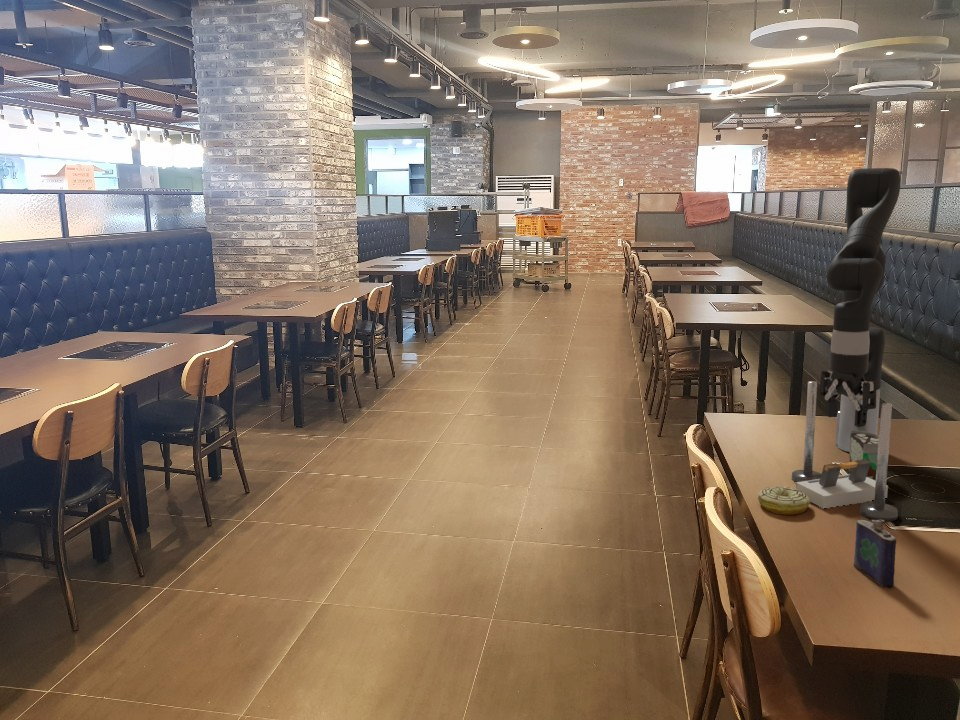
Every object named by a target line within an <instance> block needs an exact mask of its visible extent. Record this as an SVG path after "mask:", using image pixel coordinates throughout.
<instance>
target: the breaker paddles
mask: <svg viewBox="0 0 960 720" xmlns="http://www.w3.org/2000/svg"><path fill="white" fill-rule="evenodd" d="M870 464H871V462H869V461H868V460H867V459H861V460H855V461H854V462H849V461H848V462H842V463H828V464H824V465H823V468H822V471H821V478H820V481H819V484H820V485H821V486H822V487H823V488H825V487H831V486H836V483H837V479H838V476H840V472H841V470H849V468H852V469H851V472H850V471H849V474H850V475H849V480H850V481H852V482H853V483H856V482H863V481H865V480H866V476H867V473H868V470H869V467H870Z"/></svg>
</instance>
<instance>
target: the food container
mask: <svg viewBox="0 0 960 720" xmlns="http://www.w3.org/2000/svg"><path fill="white" fill-rule="evenodd" d="M849 438H850V452H849V457H848V459H849V461H848V462H854V461H855V460H861V459H867V460H868V461H869V462H871V464H870V467H869V470H868V473H867V476H866V477H868V478H870V479H873V480H875V481H876V468H877V455H878V441H879V434H877V435H876V434H873V433H869V432H863V431H853V430H850V436H849ZM849 469H850V470H851V469H852V468H848V470H849ZM850 470H849V471H850Z"/></svg>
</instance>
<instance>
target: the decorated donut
mask: <svg viewBox="0 0 960 720" xmlns="http://www.w3.org/2000/svg"><path fill="white" fill-rule="evenodd" d="M757 494H758V496H757V500H758V502H759V504H760V506H761V507H762V508H763V509H764V510H765V511H768V512H771V513H773V514H777V515H783V516H794V515H799V514H803V513H804V512H806V511H807V509H808V508H809V505H810V504H811V502H810V499H809V497H808V496H807V495H806V494H805V493H803V492H802V491H799V490H797V489H796V488H794V487H791V486H784V485H783V486H782V485H780V486H779V485H778V486H769V487H765V488H763V489H761V490H760V491H759V492H758V493H757ZM802 512H803V513H802Z"/></svg>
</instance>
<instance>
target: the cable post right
mask: <svg viewBox="0 0 960 720" xmlns="http://www.w3.org/2000/svg"><path fill="white" fill-rule="evenodd" d="M892 411H893V403H891V402H881V403H880V414H879V415H880V416H879V430H878V435H879V441H878V455H877V468H876V482H875V496H874V501H870V502H864V503H860V506H859V507H860V508H859V510H860V511H859V513H860V515H861V516H862V517H864V518H866V519H868V520H871V521H872V520H879V521H880V519H881V520H884V522H883V523H887V522H894V521H896V520H897V519H898V516H899V515H898V512H899V510H898V508H897V507H895V506H893V505H891V504H887V503H886V499H885V494H886V485H887V480H888V479H887V477H888V466H889V464H888V463H889V450H890V437H891V424H892V423H891V422H892Z"/></svg>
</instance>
